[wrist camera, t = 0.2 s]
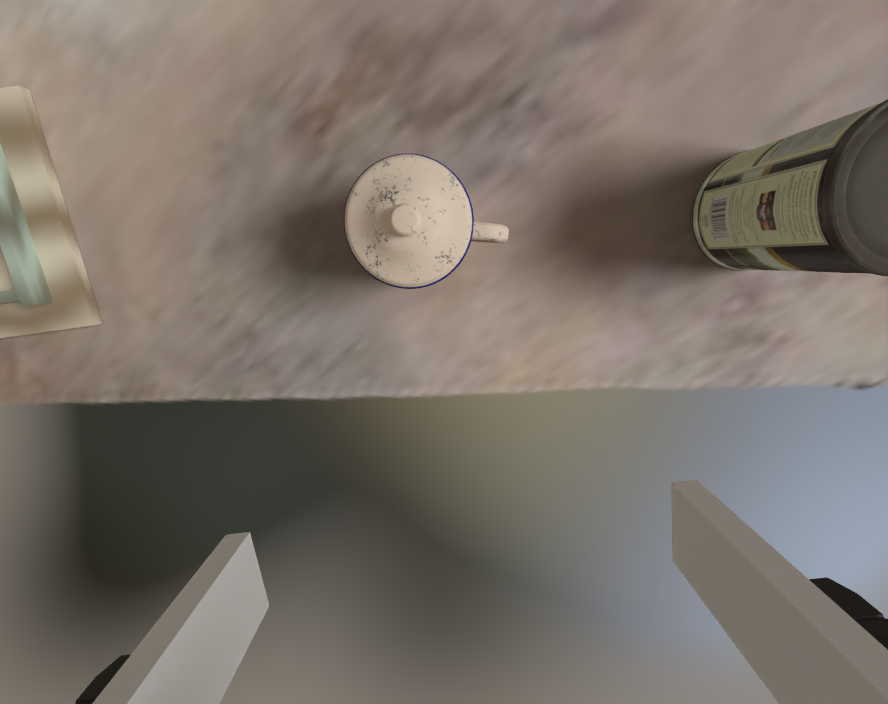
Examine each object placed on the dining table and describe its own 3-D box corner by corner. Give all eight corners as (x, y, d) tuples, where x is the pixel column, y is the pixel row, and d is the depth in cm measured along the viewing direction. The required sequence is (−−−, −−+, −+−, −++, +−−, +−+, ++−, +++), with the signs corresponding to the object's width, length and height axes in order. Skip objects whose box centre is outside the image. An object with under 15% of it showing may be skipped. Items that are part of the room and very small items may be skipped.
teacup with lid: (364, 277, 39) (330, 286, 28) (368, 172, 37) (334, 134, 26) (494, 288, 39) (513, 301, 28) (505, 184, 37) (531, 152, 26)
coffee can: (829, 223, 38) (1049, 203, 24) (726, 292, 39) (877, 312, 25) (776, 121, 36) (979, 37, 22) (669, 198, 37) (799, 163, 24)
